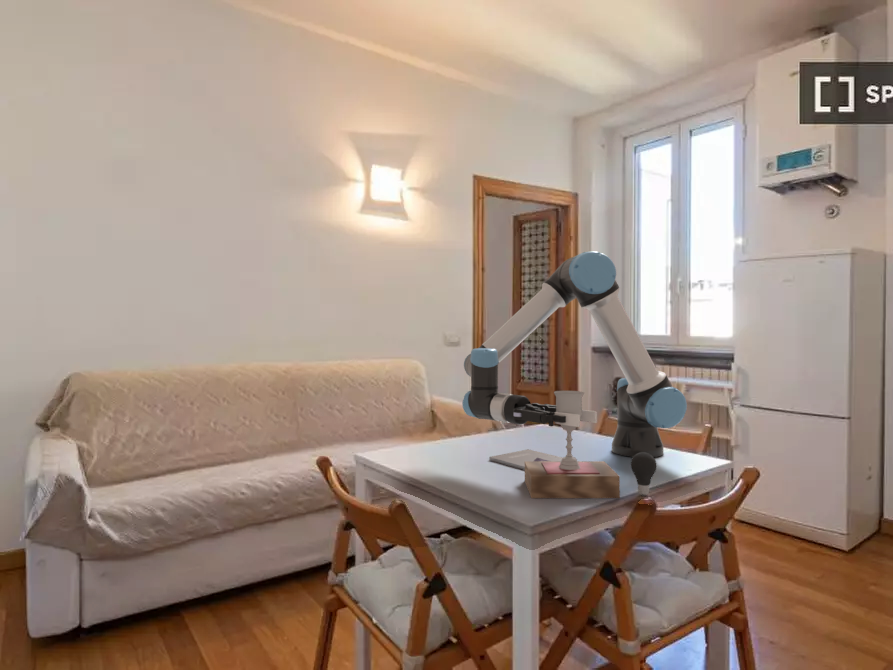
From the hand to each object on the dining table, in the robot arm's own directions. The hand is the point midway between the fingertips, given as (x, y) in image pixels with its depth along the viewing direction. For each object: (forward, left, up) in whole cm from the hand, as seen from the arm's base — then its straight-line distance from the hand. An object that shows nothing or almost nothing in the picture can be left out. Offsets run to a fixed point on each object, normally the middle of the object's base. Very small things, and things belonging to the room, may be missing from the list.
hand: (587, 419), depth 130 cm
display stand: (+4, -4, -18) cm, 18 cm away
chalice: (+4, -4, -12) cm, 13 cm away
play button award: (+9, -30, -18) cm, 36 cm away
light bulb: (-12, +1, -18) cm, 22 cm away
